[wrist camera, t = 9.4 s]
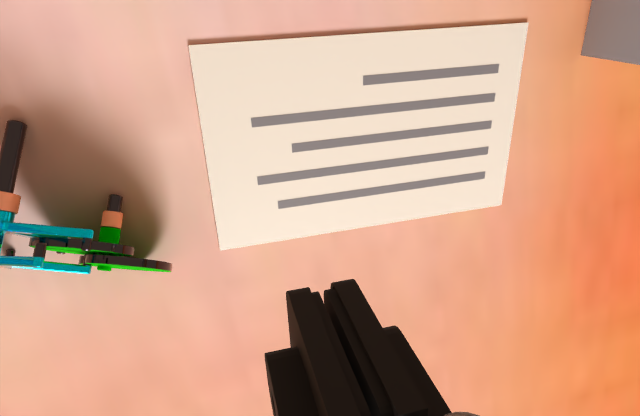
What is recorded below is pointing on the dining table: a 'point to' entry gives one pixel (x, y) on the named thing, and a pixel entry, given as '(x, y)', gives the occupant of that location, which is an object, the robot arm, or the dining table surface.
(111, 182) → the dining table surface
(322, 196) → the letter
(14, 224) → the stick construction toy
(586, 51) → the cube
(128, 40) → the dining table surface
